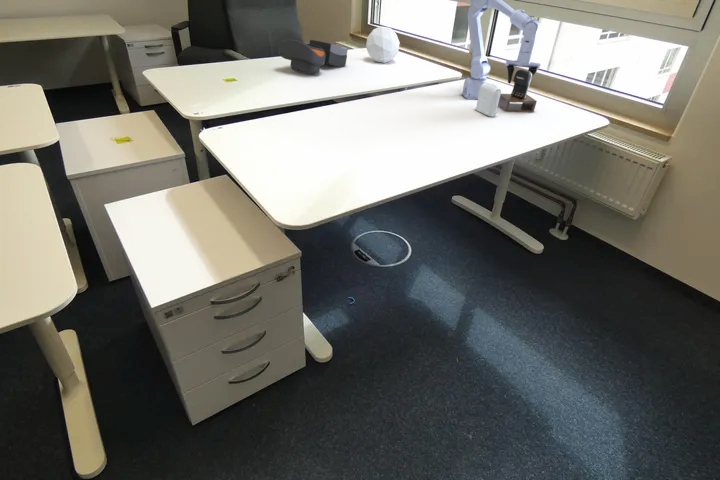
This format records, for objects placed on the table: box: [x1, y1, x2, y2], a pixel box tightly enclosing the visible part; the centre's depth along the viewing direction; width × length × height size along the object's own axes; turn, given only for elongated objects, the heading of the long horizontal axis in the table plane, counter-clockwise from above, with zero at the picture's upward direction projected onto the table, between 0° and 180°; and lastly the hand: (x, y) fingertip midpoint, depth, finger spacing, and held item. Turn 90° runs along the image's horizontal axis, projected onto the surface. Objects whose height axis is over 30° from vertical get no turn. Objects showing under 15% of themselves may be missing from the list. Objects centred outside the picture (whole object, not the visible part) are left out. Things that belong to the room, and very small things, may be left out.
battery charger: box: [510, 69, 533, 98], centre depth 191 cm, size 7×4×11 cm, turn 38°
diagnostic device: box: [277, 39, 348, 75], centre depth 228 cm, size 38×17×22 cm
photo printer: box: [475, 82, 502, 118], centre depth 184 cm, size 10×4×12 cm, turn 26°
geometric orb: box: [365, 26, 401, 64], centre depth 252 cm, size 19×20×20 cm
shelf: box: [498, 93, 538, 113], centre depth 195 cm, size 14×10×5 cm
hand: (517, 83), depth 194 cm, fingers open, 7 cm apart
